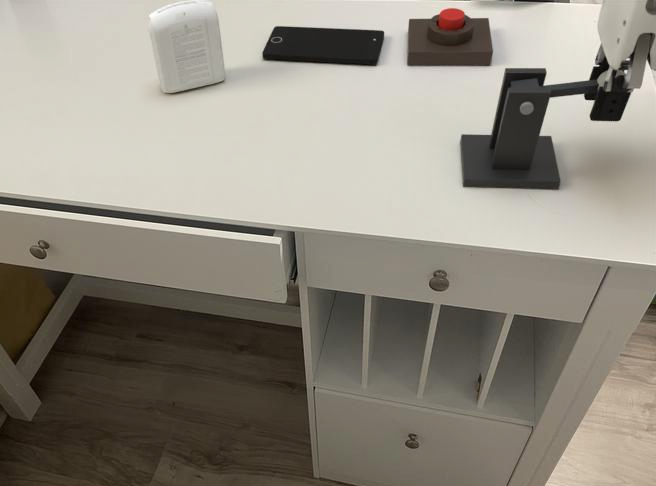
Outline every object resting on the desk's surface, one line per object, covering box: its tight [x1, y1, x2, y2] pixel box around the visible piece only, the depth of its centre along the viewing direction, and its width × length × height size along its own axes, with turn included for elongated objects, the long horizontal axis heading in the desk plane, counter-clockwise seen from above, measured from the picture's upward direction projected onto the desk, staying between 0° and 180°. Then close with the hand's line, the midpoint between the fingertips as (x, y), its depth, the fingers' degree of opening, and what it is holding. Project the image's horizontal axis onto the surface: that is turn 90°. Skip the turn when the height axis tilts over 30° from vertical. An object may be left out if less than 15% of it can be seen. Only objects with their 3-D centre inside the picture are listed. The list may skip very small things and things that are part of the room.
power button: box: [438, 7, 466, 30], centre depth 98 cm, size 4×4×2 cm
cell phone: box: [261, 25, 385, 66], centre depth 105 cm, size 9×18×1 cm, turn 75°
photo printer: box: [147, 0, 226, 94], centre depth 97 cm, size 10×4×12 cm, turn 106°
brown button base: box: [406, 13, 494, 66], centre depth 100 cm, size 12×10×4 cm
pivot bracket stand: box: [459, 67, 562, 190], centre depth 79 cm, size 11×9×12 cm
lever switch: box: [511, 70, 627, 99], centre depth 74 cm, size 12×3×3 cm, turn 80°
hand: (601, 107), depth 75 cm, fingers closed on lever switch, 3 cm apart
